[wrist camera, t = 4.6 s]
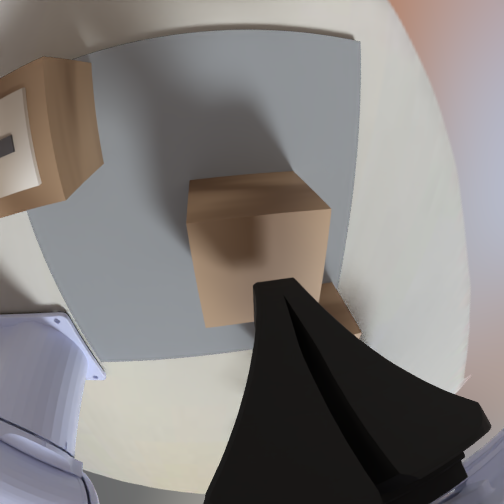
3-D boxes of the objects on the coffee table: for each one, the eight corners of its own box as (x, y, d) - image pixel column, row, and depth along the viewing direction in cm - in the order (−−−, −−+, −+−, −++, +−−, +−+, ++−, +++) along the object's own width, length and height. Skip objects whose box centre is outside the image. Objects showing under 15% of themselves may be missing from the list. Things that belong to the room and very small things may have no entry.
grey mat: (102, 358, 19) (101, 361, 19) (6, 90, 8) (2, 91, 8) (325, 331, 21) (326, 335, 21) (356, 42, 10) (360, 41, 10)
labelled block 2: (257, 344, 20) (271, 400, 16) (256, 293, 17) (274, 356, 13) (321, 332, 21) (344, 382, 17) (331, 282, 18) (363, 336, 14)
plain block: (201, 267, 15) (205, 328, 12) (189, 180, 13) (186, 223, 9) (289, 256, 16) (317, 310, 12) (293, 171, 13) (331, 208, 10)
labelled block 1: (25, 184, 11) (-26, 228, 7) (9, 96, 8) (-53, 112, 4) (103, 163, 11) (62, 204, 7) (91, 63, 9) (38, 56, 5)
